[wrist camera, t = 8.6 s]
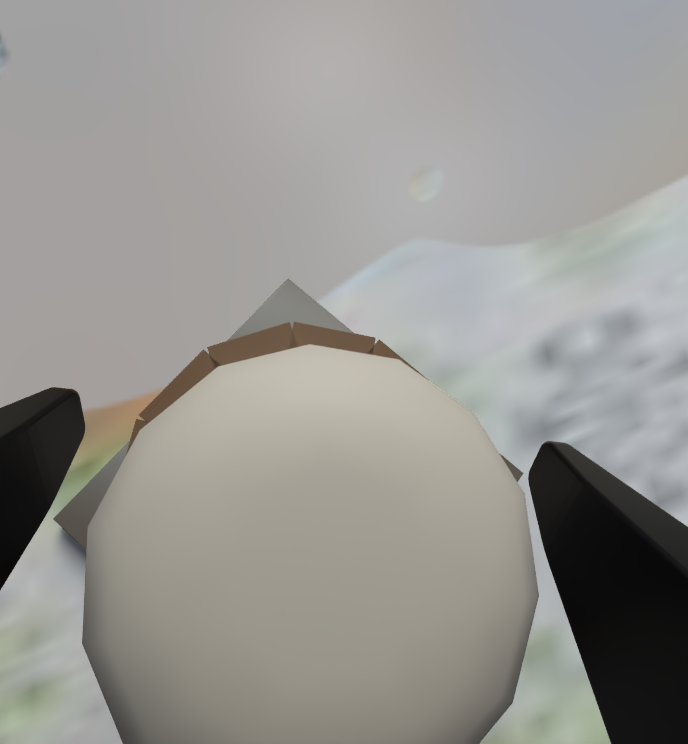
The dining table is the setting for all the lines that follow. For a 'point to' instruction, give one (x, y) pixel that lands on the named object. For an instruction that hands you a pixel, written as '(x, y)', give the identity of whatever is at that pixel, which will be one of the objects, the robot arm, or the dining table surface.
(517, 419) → the dining table surface
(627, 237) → the dining table surface
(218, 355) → the stand
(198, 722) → the salt shaker
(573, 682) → the dining table surface
